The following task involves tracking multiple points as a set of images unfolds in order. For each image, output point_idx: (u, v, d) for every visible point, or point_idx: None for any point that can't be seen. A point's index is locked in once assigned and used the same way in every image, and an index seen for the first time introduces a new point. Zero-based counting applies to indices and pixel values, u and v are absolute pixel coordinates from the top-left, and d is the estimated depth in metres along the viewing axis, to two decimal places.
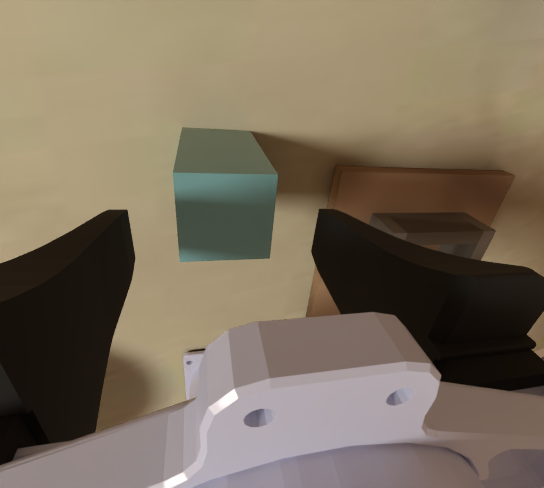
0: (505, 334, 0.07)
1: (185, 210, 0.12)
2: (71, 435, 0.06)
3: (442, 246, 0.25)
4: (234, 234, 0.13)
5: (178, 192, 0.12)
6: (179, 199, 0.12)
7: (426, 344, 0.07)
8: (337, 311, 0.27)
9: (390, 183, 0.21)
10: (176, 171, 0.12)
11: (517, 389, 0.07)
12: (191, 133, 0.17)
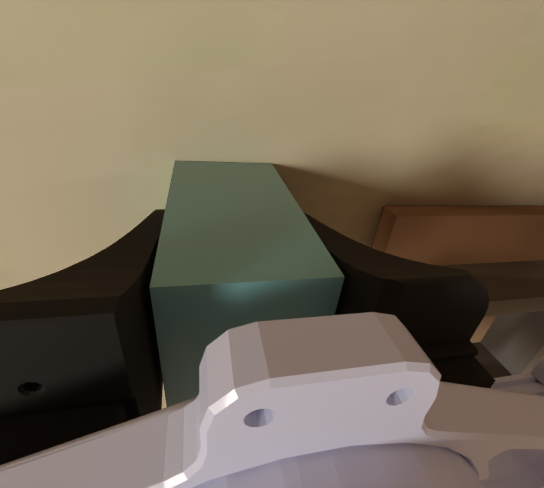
0: (445, 341, 0.06)
1: (175, 341, 0.07)
2: None
3: None
4: None
5: (161, 316, 0.06)
6: (163, 327, 0.06)
7: None
8: None
9: (458, 229, 0.16)
10: (156, 282, 0.06)
11: None
12: (188, 173, 0.11)
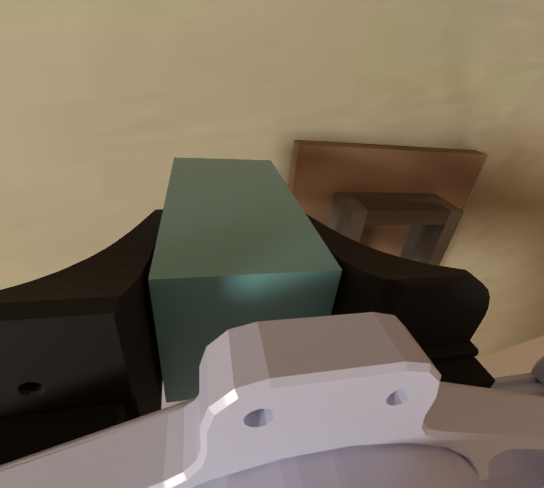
0: (445, 341, 0.06)
1: (174, 334, 0.07)
2: None
3: (412, 230, 0.24)
4: None
5: (160, 309, 0.06)
6: (162, 319, 0.07)
7: None
8: None
9: (353, 159, 0.20)
10: (155, 275, 0.06)
11: None
12: (187, 169, 0.11)
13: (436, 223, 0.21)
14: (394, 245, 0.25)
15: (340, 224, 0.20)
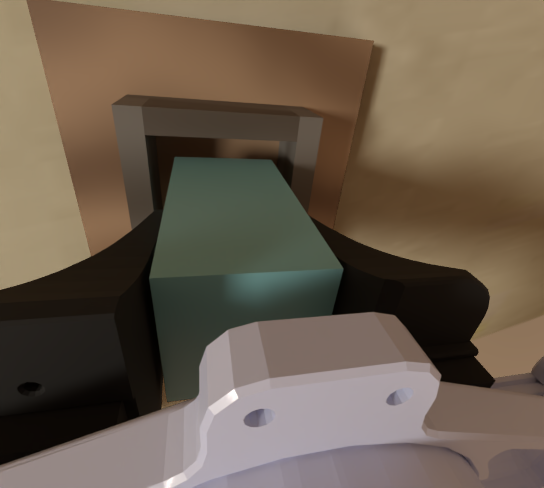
0: (445, 341, 0.06)
1: (175, 333, 0.07)
2: None
3: (277, 166, 0.16)
4: None
5: (161, 308, 0.06)
6: (163, 318, 0.07)
7: None
8: None
9: (140, 35, 0.13)
10: (156, 273, 0.06)
11: None
12: (188, 168, 0.11)
13: (280, 138, 0.13)
14: None
15: None
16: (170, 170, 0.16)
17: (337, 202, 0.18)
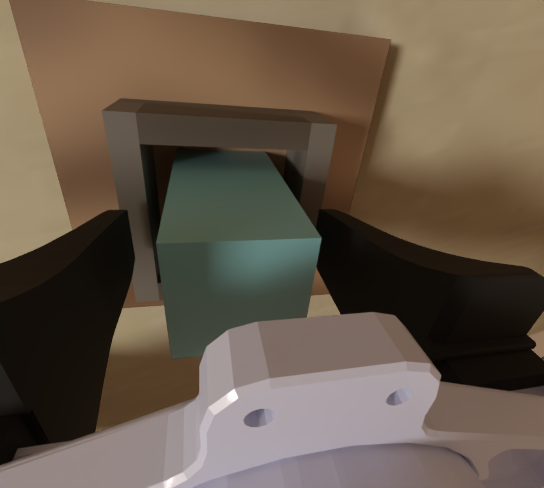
0: (505, 334, 0.07)
1: (178, 294, 0.08)
2: (71, 435, 0.06)
3: (284, 175, 0.15)
4: (251, 320, 0.09)
5: (166, 270, 0.08)
6: (168, 280, 0.08)
7: (426, 344, 0.07)
8: None
9: (135, 33, 0.11)
10: (162, 240, 0.07)
11: (518, 389, 0.07)
12: (188, 159, 0.13)
13: (289, 147, 0.12)
14: None
15: None
16: (168, 179, 0.14)
17: (347, 212, 0.17)
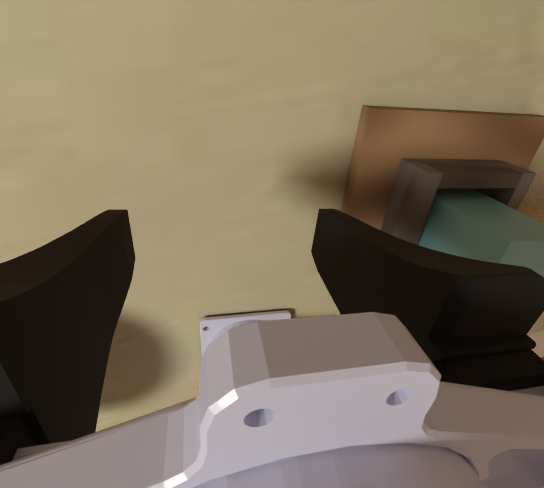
0: (505, 334, 0.07)
1: None
2: (71, 435, 0.06)
3: None
4: None
5: (505, 254, 0.16)
6: (503, 259, 0.16)
7: (426, 344, 0.07)
8: None
9: (422, 124, 0.20)
10: (510, 240, 0.16)
11: (517, 389, 0.07)
12: (437, 192, 0.21)
13: (507, 186, 0.20)
14: None
15: (410, 190, 0.20)
16: None
17: None
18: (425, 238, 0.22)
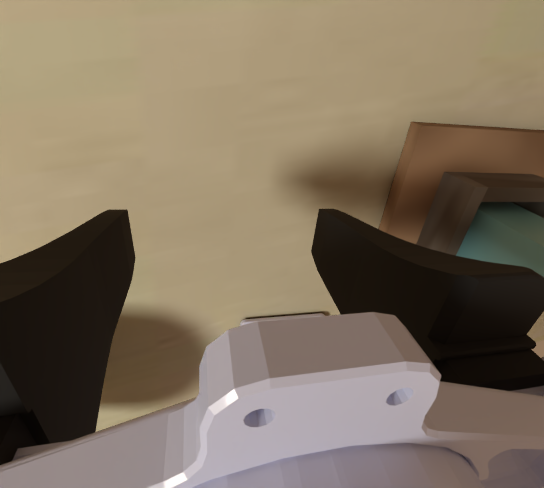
0: (505, 334, 0.07)
1: None
2: (71, 435, 0.06)
3: None
4: None
5: None
6: None
7: (426, 344, 0.07)
8: None
9: (466, 140, 0.21)
10: None
11: (518, 389, 0.07)
12: None
13: None
14: None
15: (453, 202, 0.21)
16: None
17: None
18: (464, 248, 0.23)
